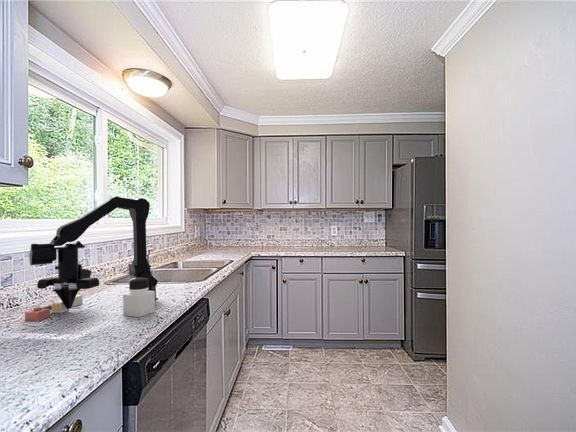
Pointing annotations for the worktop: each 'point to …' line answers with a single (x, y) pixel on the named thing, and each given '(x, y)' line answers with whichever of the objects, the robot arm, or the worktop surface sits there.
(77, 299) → the white square block
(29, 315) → the cap
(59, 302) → the matte white cube
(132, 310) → the medicine bottle
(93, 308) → the worktop surface
